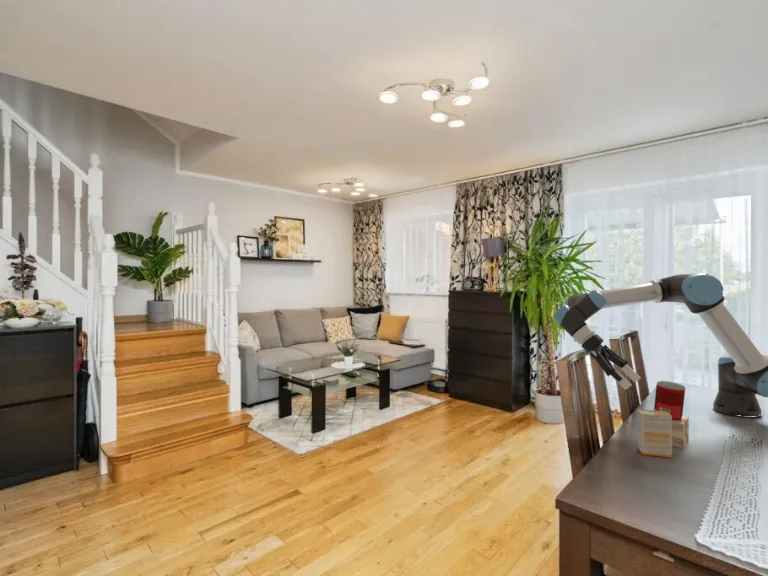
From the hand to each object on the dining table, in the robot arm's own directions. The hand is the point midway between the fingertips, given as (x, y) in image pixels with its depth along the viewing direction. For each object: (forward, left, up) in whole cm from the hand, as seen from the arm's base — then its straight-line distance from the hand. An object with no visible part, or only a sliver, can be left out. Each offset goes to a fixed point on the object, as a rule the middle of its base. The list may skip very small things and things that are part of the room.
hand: (633, 383), depth 147 cm
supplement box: (+17, +9, -17) cm, 26 cm away
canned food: (+1, +10, -9) cm, 14 cm away
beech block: (+2, +11, -17) cm, 20 cm away
